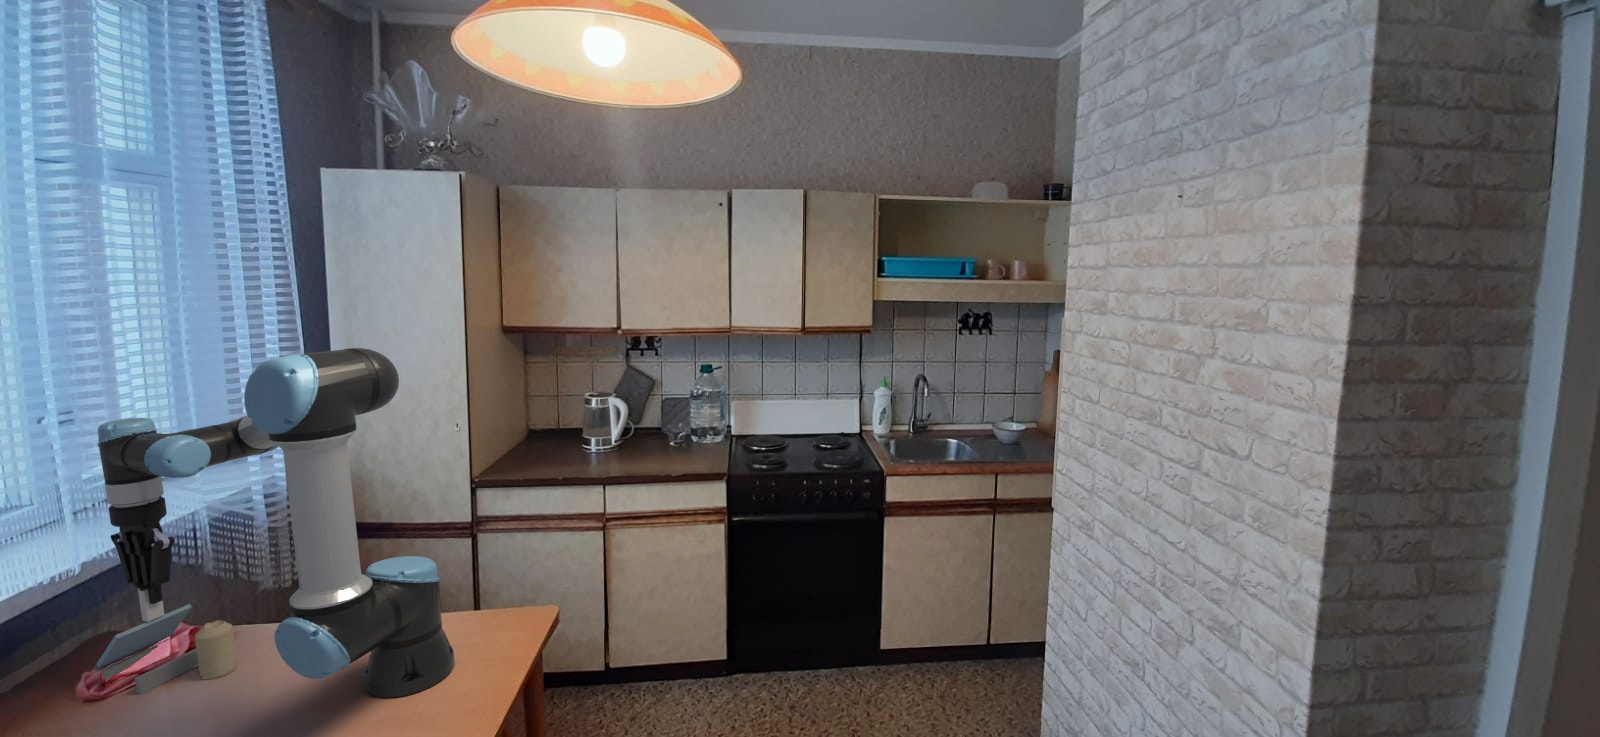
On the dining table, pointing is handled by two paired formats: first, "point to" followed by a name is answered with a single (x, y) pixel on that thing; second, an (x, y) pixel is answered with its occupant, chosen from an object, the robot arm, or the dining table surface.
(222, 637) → the candle
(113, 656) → the cover
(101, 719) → the dining table surface
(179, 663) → the grey panel stand
